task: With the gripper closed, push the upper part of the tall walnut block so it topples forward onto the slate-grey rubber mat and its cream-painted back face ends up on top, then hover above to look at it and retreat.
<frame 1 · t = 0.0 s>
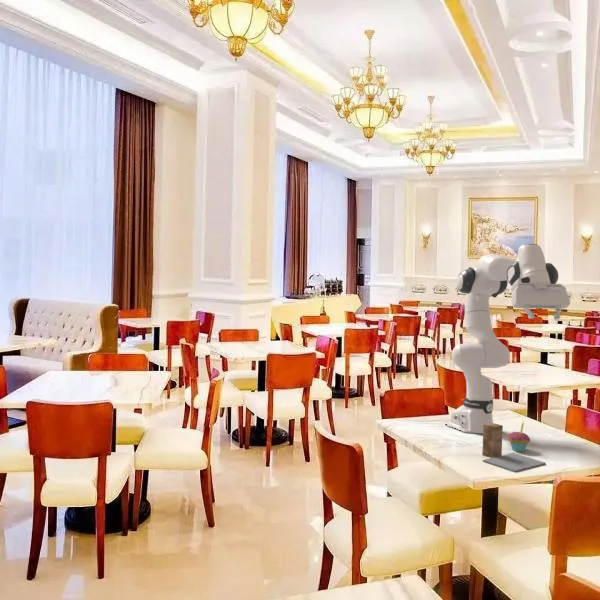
hand: (544, 318, 214), 54 cm above the table, tool tilted 30°, fingers open, 8 cm apart
mat: (514, 462, 224), on the table
cupcake: (518, 450, 242), on the table
walnut block: (491, 455, 233), on the table
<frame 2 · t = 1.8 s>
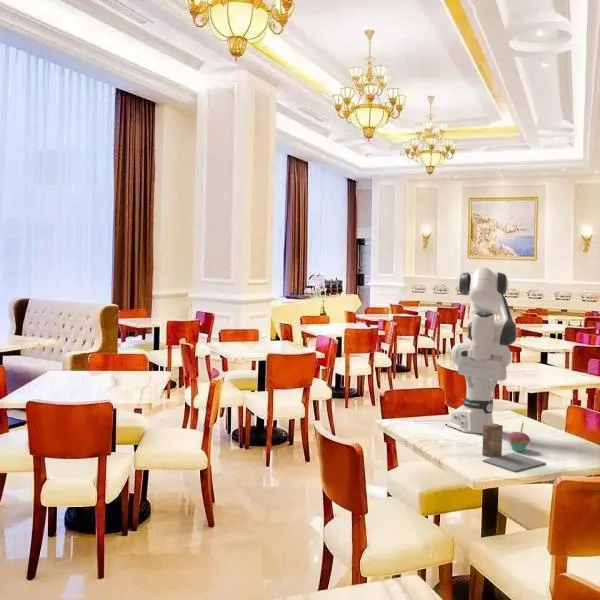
hand: (480, 389, 236), 25 cm above the table, tool pointing down, fingers open, 8 cm apart
nothing on the table moved.
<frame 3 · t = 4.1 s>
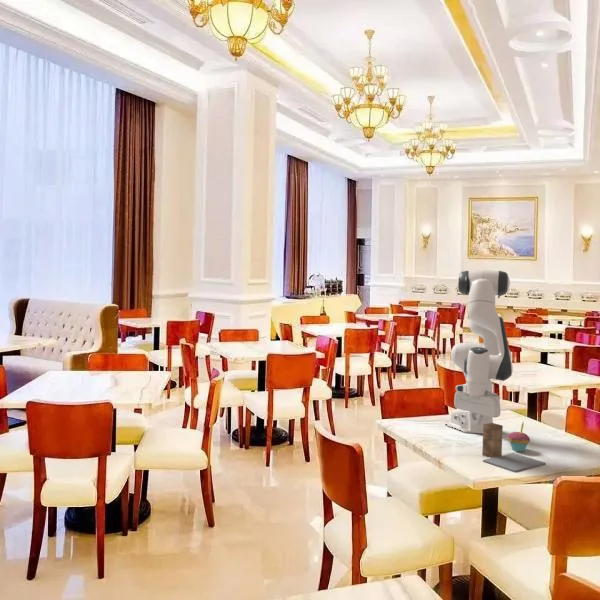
hand: (476, 424, 239), 11 cm above the table, tool pointing down, fingers closed
nothing on the table moved.
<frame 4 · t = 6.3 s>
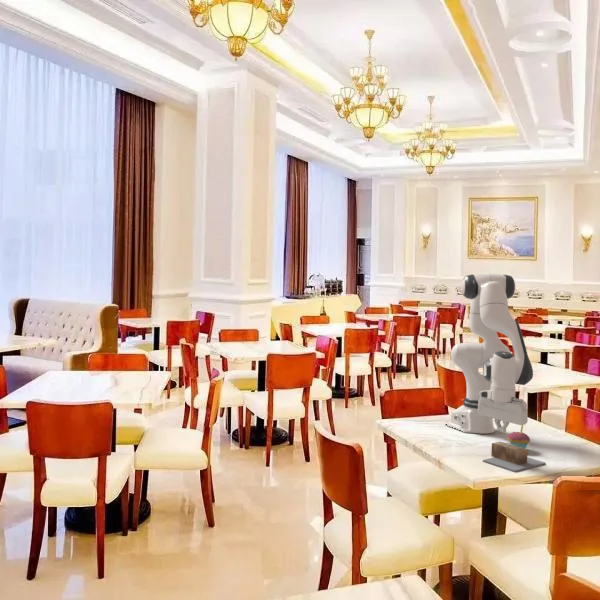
hand: (501, 431, 229), 10 cm above the table, tool pointing down, fingers closed
walnut block: (495, 448, 231), point 3 cm above the table, tilted 90°, touching mat
everything else where it was.
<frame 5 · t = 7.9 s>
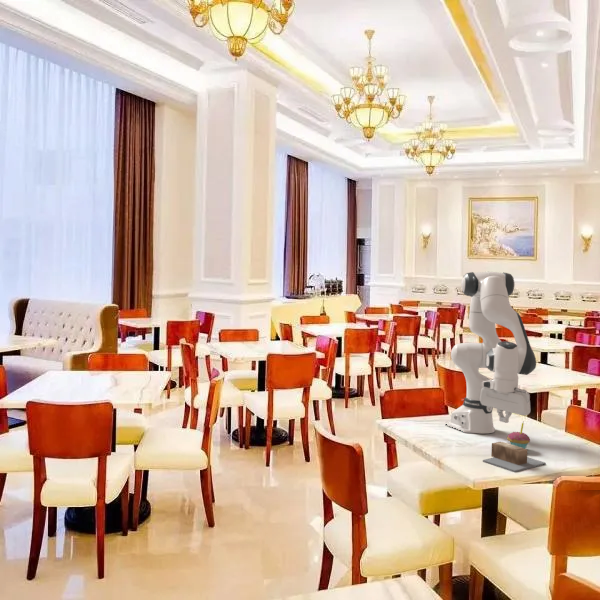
hand: (503, 421, 229), 14 cm above the table, tool pointing down, fingers closed
nothing on the table moved.
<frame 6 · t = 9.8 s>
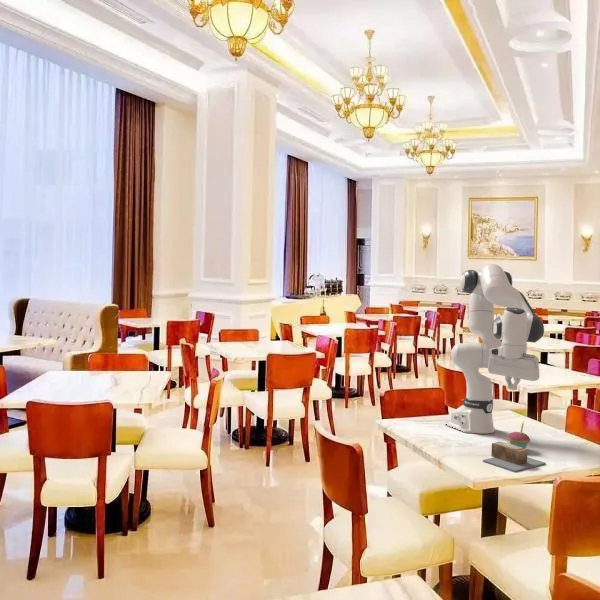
hand: (512, 389, 225), 27 cm above the table, tool pointing down, fingers closed
nothing on the table moved.
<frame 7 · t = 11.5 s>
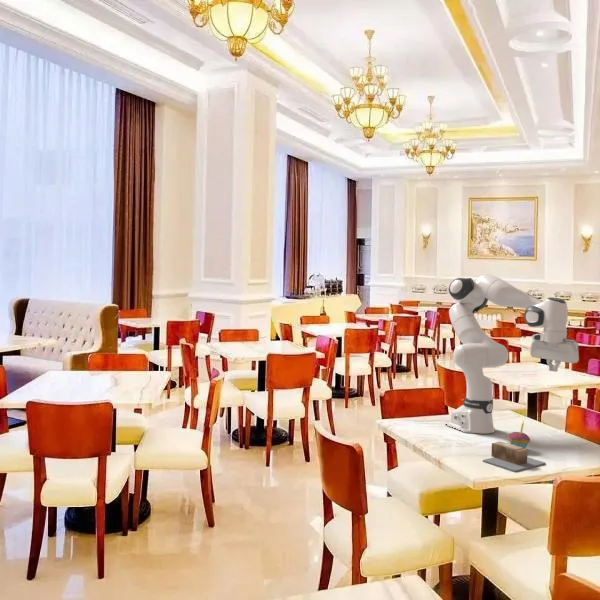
hand: (553, 371, 249), 31 cm above the table, tool pointing down, fingers closed
nothing on the table moved.
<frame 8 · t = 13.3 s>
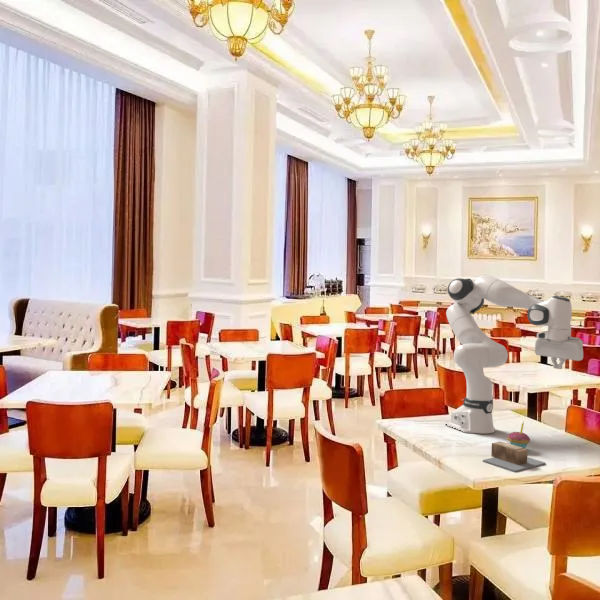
hand: (557, 368, 252), 31 cm above the table, tool pointing down, fingers closed
nothing on the table moved.
at the end: walnut block tilted 90°; walnut block inside the target area (3.8 cm from its centre), point 3.1 cm above the table; walnut block touching mat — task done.
